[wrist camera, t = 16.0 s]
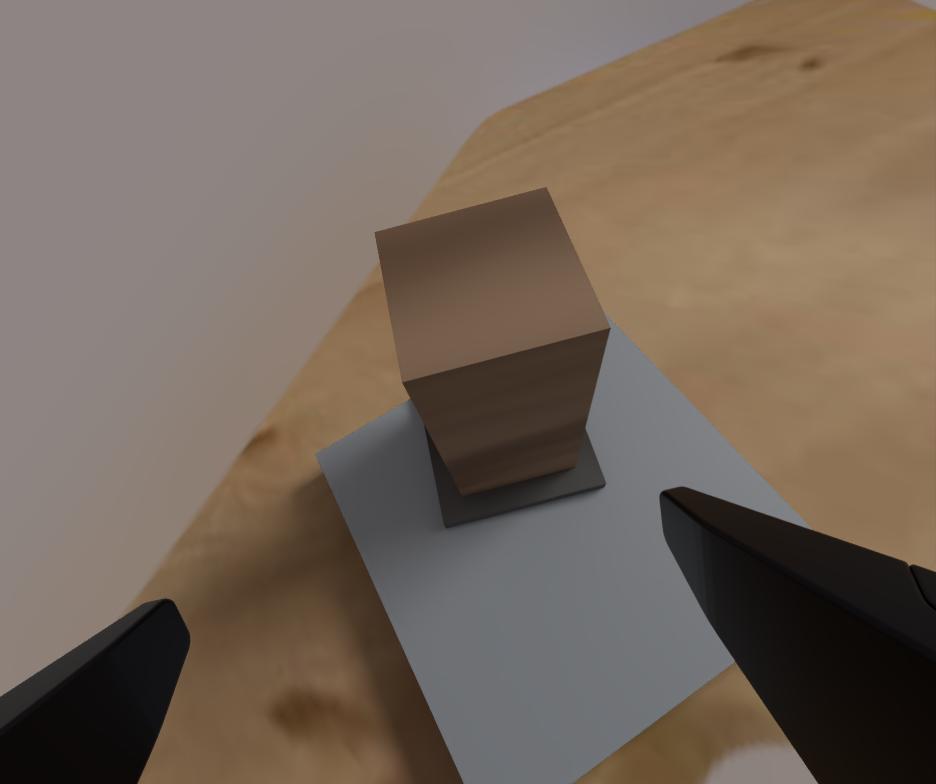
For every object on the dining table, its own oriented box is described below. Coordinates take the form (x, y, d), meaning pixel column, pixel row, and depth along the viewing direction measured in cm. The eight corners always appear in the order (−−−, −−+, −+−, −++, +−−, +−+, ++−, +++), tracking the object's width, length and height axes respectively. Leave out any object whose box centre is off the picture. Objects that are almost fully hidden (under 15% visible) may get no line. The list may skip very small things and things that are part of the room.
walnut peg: (598, 499, 22) (671, 351, 10) (453, 536, 22) (365, 432, 10) (553, 373, 25) (569, 156, 14) (426, 406, 25) (337, 217, 14)
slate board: (824, 578, 19) (853, 572, 18) (495, 822, 17) (491, 844, 15) (584, 318, 27) (588, 295, 25) (330, 467, 24) (315, 454, 23)
